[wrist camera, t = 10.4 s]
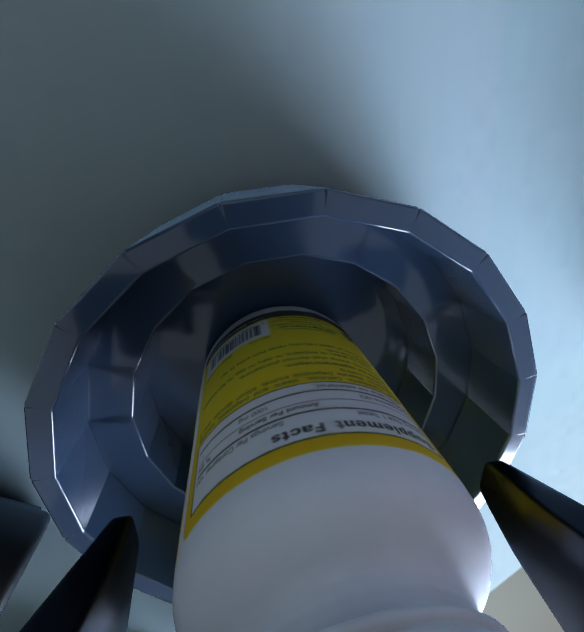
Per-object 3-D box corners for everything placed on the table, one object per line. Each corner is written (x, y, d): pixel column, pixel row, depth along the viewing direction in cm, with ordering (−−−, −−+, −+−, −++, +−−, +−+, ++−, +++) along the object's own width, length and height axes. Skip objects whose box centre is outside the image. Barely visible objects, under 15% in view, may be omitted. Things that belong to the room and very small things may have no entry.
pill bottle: (323, 444, 16) (491, 926, 6) (186, 420, 14) (71, 1044, 4) (379, 323, 14) (783, 719, 4) (228, 279, 12) (215, 774, 2)
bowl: (49, 445, 14) (-39, 575, 9) (190, 96, 10) (159, 32, 6) (336, 520, 18) (370, 633, 14) (504, 293, 15) (625, 344, 10)
